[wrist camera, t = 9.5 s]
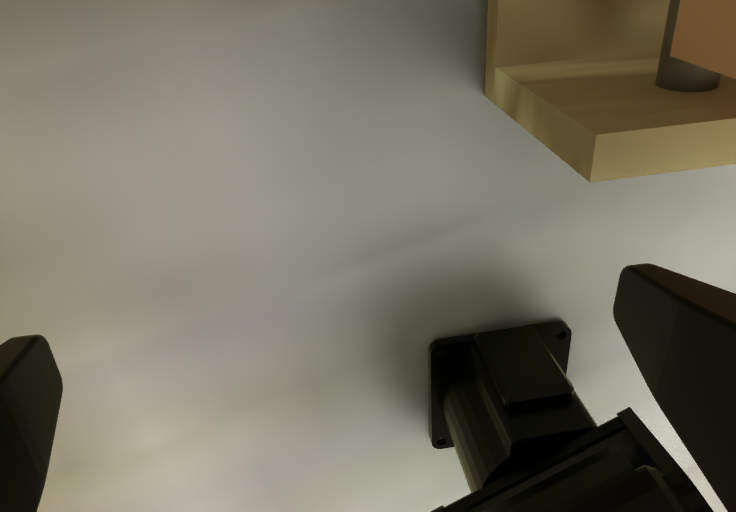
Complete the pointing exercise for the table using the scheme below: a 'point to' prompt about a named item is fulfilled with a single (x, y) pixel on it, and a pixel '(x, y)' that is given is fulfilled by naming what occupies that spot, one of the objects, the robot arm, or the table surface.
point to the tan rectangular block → (707, 35)
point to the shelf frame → (608, 86)
